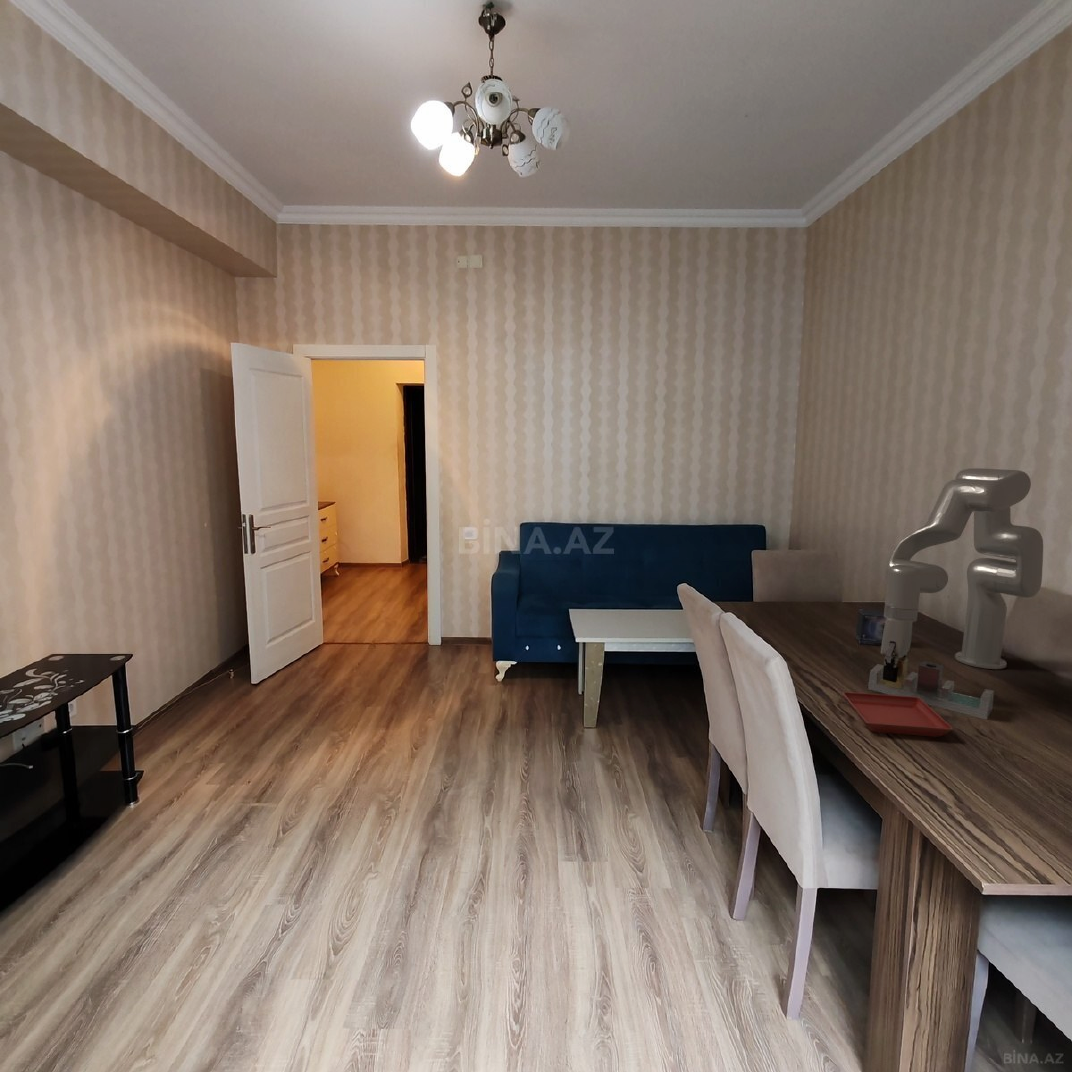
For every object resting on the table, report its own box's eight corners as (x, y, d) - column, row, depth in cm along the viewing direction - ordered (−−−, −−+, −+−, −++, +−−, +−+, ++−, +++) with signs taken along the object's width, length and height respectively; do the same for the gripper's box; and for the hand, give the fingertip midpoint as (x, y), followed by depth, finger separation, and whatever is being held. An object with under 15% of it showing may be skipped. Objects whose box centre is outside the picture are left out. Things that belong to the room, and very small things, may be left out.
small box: (859, 645, 200) (862, 614, 199) (854, 639, 206) (857, 608, 205) (895, 648, 198) (899, 616, 196) (889, 641, 204) (892, 611, 202)
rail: (876, 680, 170) (878, 663, 170) (992, 709, 153) (994, 690, 152) (867, 689, 165) (869, 671, 164) (986, 719, 147) (989, 699, 146)
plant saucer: (840, 703, 157) (841, 690, 156) (917, 708, 154) (919, 696, 153) (865, 736, 139) (866, 722, 139) (953, 743, 136) (954, 729, 136)
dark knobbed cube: (920, 686, 161) (923, 660, 160) (940, 691, 158) (943, 664, 157) (916, 691, 158) (919, 664, 157) (936, 696, 155) (939, 669, 154)
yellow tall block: (886, 678, 167) (889, 652, 166) (905, 682, 164) (908, 656, 163) (881, 682, 164) (884, 657, 163) (900, 687, 161) (903, 661, 159)
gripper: (893, 603, 170) (887, 664, 172) (874, 616, 157) (868, 681, 160) (925, 609, 164) (918, 671, 167) (908, 622, 152) (901, 689, 155)
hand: (894, 675), depth 163 cm, fingers open, 8 cm apart
